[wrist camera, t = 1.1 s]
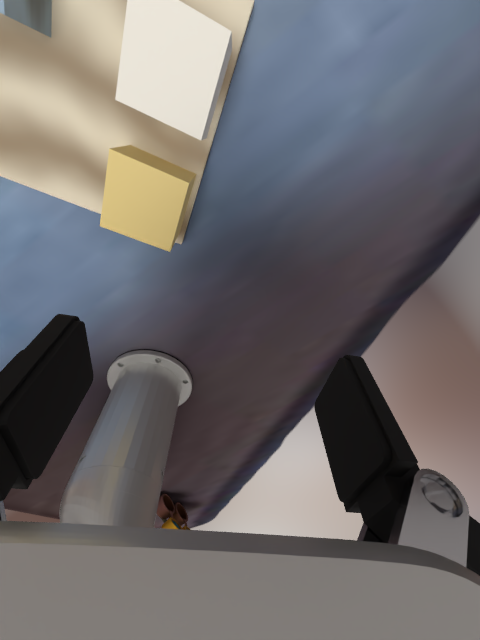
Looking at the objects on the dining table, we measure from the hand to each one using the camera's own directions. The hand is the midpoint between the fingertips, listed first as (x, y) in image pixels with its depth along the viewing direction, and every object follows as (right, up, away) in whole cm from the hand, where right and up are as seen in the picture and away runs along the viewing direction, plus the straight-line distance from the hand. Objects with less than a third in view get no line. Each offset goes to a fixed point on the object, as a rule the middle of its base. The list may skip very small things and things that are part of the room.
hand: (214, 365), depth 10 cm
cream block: (-3, +21, +11) cm, 24 cm away
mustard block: (-7, +14, +16) cm, 22 cm away
